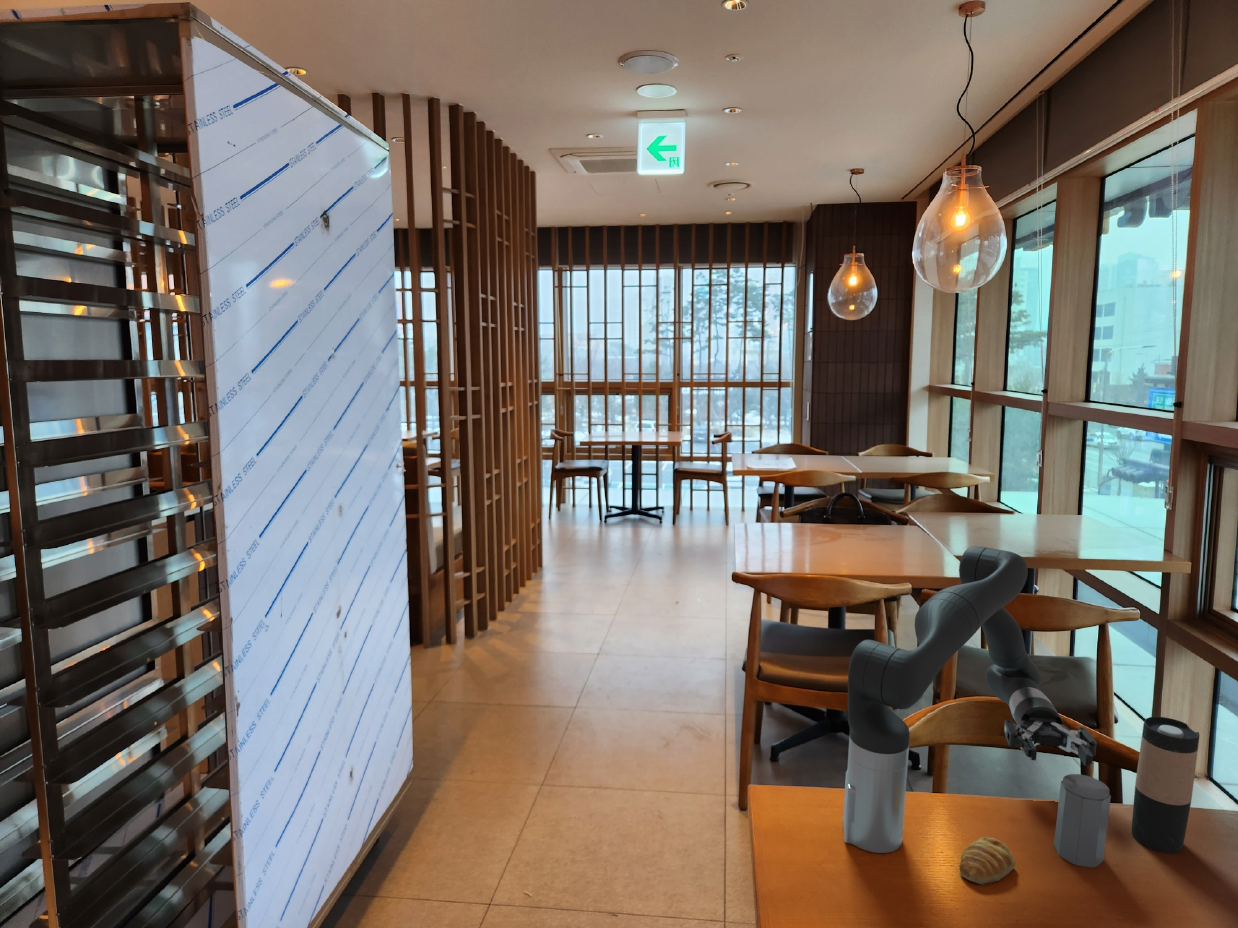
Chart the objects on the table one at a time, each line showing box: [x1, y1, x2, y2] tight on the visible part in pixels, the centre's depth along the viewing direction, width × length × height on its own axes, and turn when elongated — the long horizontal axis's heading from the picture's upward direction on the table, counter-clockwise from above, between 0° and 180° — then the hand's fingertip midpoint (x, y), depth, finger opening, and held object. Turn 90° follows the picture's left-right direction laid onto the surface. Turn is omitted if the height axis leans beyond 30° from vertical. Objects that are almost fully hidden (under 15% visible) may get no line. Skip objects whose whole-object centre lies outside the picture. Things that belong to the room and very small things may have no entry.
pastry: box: [958, 836, 1017, 885], centre depth 124 cm, size 9×7×4 cm
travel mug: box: [1131, 716, 1200, 854], centre depth 130 cm, size 8×8×20 cm
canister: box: [1053, 773, 1112, 868], centre depth 127 cm, size 6×6×12 cm
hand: (1061, 758), depth 139 cm, fingers open, 8 cm apart
